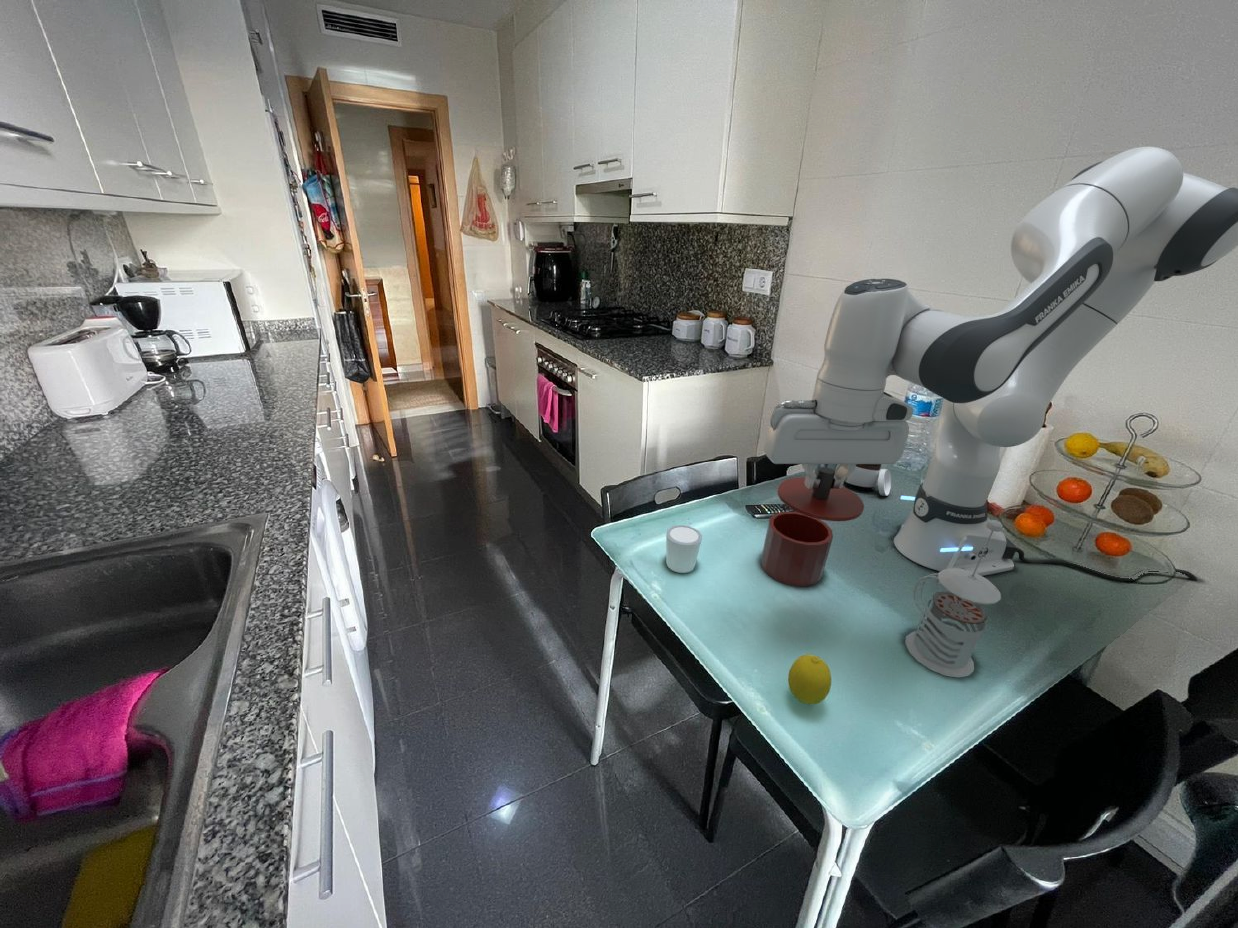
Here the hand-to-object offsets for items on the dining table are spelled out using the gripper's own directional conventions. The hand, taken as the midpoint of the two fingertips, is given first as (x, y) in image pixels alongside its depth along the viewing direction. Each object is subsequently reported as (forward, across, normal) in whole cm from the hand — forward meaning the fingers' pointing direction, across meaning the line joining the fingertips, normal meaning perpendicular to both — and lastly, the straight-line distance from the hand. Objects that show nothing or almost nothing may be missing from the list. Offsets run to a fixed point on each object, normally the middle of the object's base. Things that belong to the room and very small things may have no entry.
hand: (822, 487), depth 76 cm
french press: (+25, +21, -9) cm, 34 cm away
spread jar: (+25, +41, +46) cm, 66 cm away
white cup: (+26, -16, +15) cm, 34 cm away
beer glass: (+25, +29, +47) cm, 60 cm away
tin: (+25, +6, +13) cm, 29 cm away
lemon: (+25, -5, -17) cm, 31 cm away
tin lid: (+2, 0, 0) cm, 2 cm away
